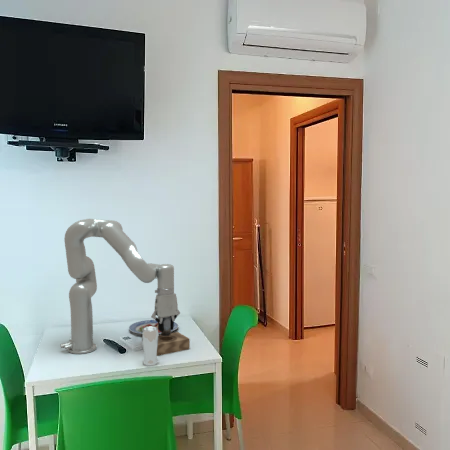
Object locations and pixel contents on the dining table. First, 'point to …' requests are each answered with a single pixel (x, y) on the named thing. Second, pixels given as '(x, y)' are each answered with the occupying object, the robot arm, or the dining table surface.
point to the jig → (172, 343)
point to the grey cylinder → (166, 326)
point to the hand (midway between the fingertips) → (166, 329)
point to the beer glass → (150, 345)
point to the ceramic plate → (140, 325)
